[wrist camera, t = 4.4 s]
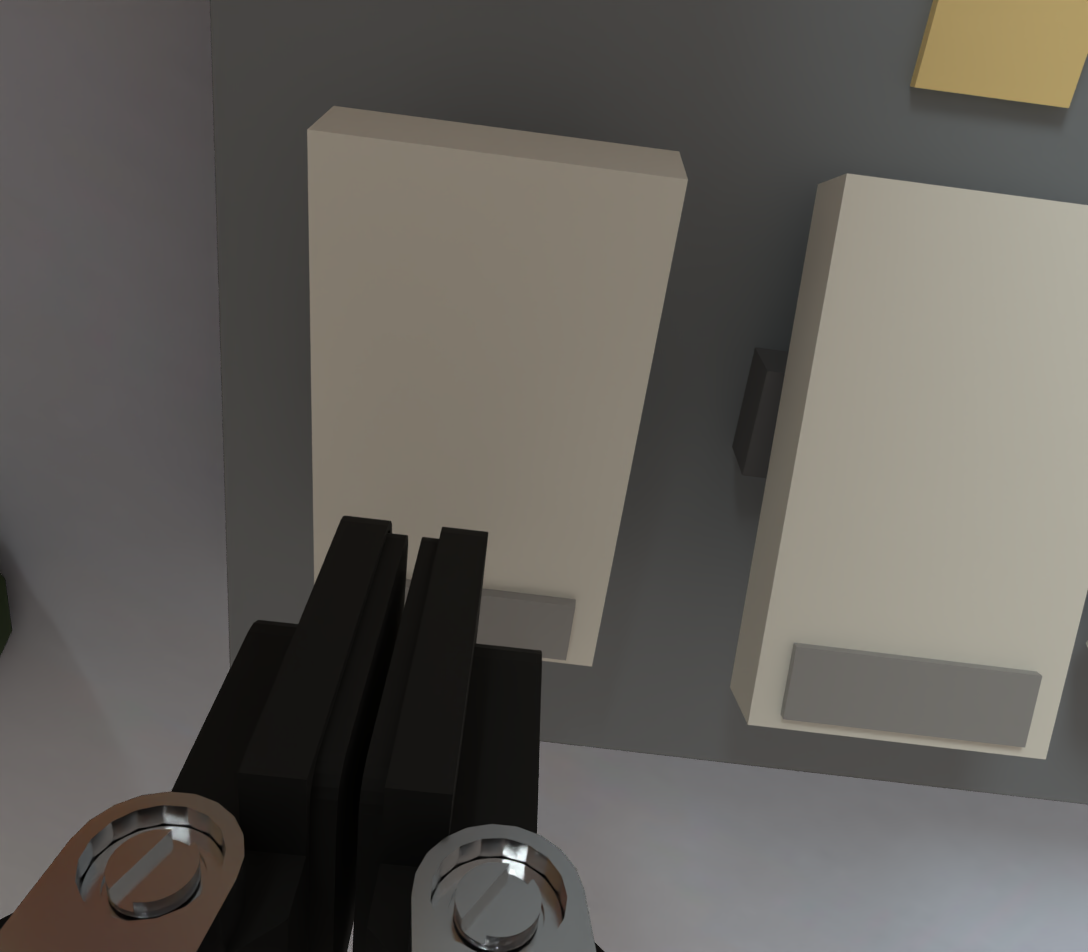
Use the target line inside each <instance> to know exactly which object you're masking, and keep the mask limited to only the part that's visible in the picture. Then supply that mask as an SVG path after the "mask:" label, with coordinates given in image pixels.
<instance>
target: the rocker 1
mask: <svg viewBox="0 0 1088 952" xmlns="http://www.w3.org/2000/svg"><path fill="white" fill-rule="evenodd" d="M307 151H308V215H309V280H310V344H311V408H312V473H313V537H314V584H315V582H316V579H317V577H318V574H319V572H320V569H321V567H322V564H323V562H324V560H325V557H326V555H327V552H328V550H329V547H330V545H331V542H332V540H333V537H334V535H335V533H336V530H337V528H338V525H339V523H340V520H341V519H342V517H343V516H354V517H362V518H371V519H380V520H389V521H391V523H392V533H393V534H402V535H408V557H407V572H406V587H405V603H406V599H407V595H408V591H409V587H410V583H411V579H412V575H413V571H414V567H415V563H416V559H417V555H418V551H419V547H420V543H421V539H422V537H429V538H438V539H439V538H440V533H441V529H442V527H451V528H459V529H468V530H477V531H486V532H488V542H487V551H486V560H485V569H484V578H483V587H482V596H481V605H480V615H479V624H478V633H477V642H476V643H477V644H486V645H496V646H505V647H514V648H523V649H533V650H541V651H542V661H549V662H557V663H566V664H574V665H583V666H591V667H592V664H593V659H594V654H595V649H596V643H597V638H598V633H599V628H600V623H601V618H602V613H603V608H604V603H605V598H606V593H607V588H608V583H609V578H610V573H611V567H612V562H613V557H614V552H615V547H616V542H617V537H618V532H619V527H620V522H621V517H622V512H623V507H624V502H625V496H626V491H627V486H628V481H629V476H630V471H631V466H632V461H633V456H634V451H635V446H636V441H637V436H638V431H639V425H640V420H641V415H642V410H643V405H644V400H645V395H646V390H647V385H648V380H649V375H650V370H651V365H652V360H653V355H654V349H655V344H656V339H657V334H658V329H659V324H660V319H661V314H662V309H663V304H664V299H665V294H666V289H667V284H668V278H669V273H670V268H671V263H672V258H673V253H674V248H675V243H676V238H677V233H678V228H679V223H680V218H681V213H682V208H683V202H684V197H685V192H686V187H687V182H688V178H687V175H686V172H685V168H684V165H683V162H682V159H681V156H680V152H679V151H672V150H664V149H657V148H649V147H641V146H634V145H626V144H619V143H611V142H604V141H596V140H589V139H581V138H574V137H566V136H558V135H551V134H543V133H536V132H528V131H521V130H513V129H506V128H498V127H490V126H483V125H475V124H468V123H460V122H453V121H445V120H438V119H430V118H423V117H415V116H407V115H400V114H392V113H385V112H377V111H370V110H362V109H355V108H347V107H339V106H333V107H332V108H331V109H330V110H328V111H327V112H326V113H325V114H324V115H323V116H322V117H321V118H319V119H318V120H317V121H316V122H315V123H314V124H313V125H312V126H311V127H309V128H308V129H307ZM405 603H404V606H405Z"/></svg>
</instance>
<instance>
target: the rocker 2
mask: <svg viewBox="0 0 1088 952" xmlns="http://www.w3.org/2000/svg"><path fill="white" fill-rule="evenodd" d="M1087 590H1088V205H1082V204H1075V203H1067V202H1060V201H1052V200H1044V199H1037V198H1029V197H1022V196H1014V195H1007V194H999V193H992V192H984V191H976V190H969V189H961V188H954V187H946V186H939V185H931V184H924V183H916V182H909V181H901V180H893V179H886V178H878V177H871V176H863V175H856V174H848V173H847V174H844V175H841V176H838V177H836V178H833V179H830V180H828V181H825V182H822V183H820V184H818V186H817V192H816V198H815V203H814V209H813V215H812V221H811V226H810V232H809V238H808V243H807V249H806V255H805V261H804V266H803V272H802V278H801V284H800V289H799V295H798V301H797V306H796V312H795V318H794V324H793V329H792V335H791V341H790V347H789V352H788V358H787V364H786V370H785V375H784V381H783V387H782V392H781V398H780V404H779V410H778V415H777V421H776V427H775V433H774V438H773V444H772V450H771V455H770V461H769V467H768V473H767V478H766V484H765V490H764V496H763V501H762V507H761V513H760V518H759V524H758V530H757V536H756V541H755V547H754V553H753V559H752V564H751V570H750V576H749V581H748V587H747V593H746V599H745V604H744V610H743V616H742V622H741V627H740V633H739V639H738V644H737V650H736V656H735V662H734V667H733V673H732V679H731V685H730V688H731V690H732V692H733V694H734V697H735V699H736V701H737V703H738V705H739V707H740V709H741V711H742V714H743V716H744V718H745V720H746V722H747V724H748V725H754V726H763V727H771V728H780V729H789V730H797V731H806V732H814V733H823V734H831V735H840V736H849V737H857V738H866V739H874V740H883V741H891V742H900V743H908V744H917V745H926V746H934V747H943V748H951V749H960V750H968V751H977V752H986V753H994V754H1003V755H1011V756H1020V757H1028V758H1037V759H1046V756H1047V752H1048V748H1049V744H1050V740H1051V736H1052V732H1053V728H1054V724H1055V720H1056V716H1057V712H1058V708H1059V704H1060V700H1061V696H1062V692H1063V688H1064V684H1065V679H1066V675H1067V671H1068V667H1069V663H1070V659H1071V655H1072V651H1073V647H1074V643H1075V639H1076V635H1077V631H1078V627H1079V623H1080V619H1081V615H1082V611H1083V607H1084V603H1085V599H1086V595H1087Z"/></svg>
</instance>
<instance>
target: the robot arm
mask: <svg viewBox="0 0 1088 952" xmlns="http://www.w3.org/2000/svg"><path fill="white" fill-rule="evenodd" d="M487 542H488V532H486V531H477V530H468V529H459V528H451V527H442V529H441V533H440V538H439V539H438V538H429V537H422V539H421V543H420V547H419V551H418V555H417V559H416V563H415V567H414V571H413V575H412V579H411V583H410V587H409V591H408V595H407V599H406V603H405V587H406V572H407V557H408V535H402V534H393V533H392V523H391V521H389V520H380V519H371V518H362V517H354V516H343V517H342V519H341V520H340V523H339V525H338V528H337V530H336V533H335V535H334V537H333V540H332V542H331V545H330V547H329V550H328V552H327V555H326V557H325V560H324V562H323V564H322V567H321V569H320V572H319V574H318V577H317V579H316V582H315V584H314V587H313V589H312V591H311V594H310V596H309V599H308V601H307V604H306V606H305V609H304V611H303V613H302V616H301V618H300V621H299V623H298V624H293V623H284V622H275V621H266V620H257V621H255V622H254V623H253V624H252V626H251V628H250V629H249V631H248V633H247V635H246V637H245V639H244V641H243V643H242V645H241V647H240V649H239V651H238V654H237V656H236V658H235V660H234V662H233V664H232V666H231V668H230V670H229V672H228V674H227V676H226V679H225V681H224V683H223V685H222V687H221V689H220V691H219V693H218V695H217V697H216V699H215V701H214V704H213V706H212V708H211V710H210V712H209V714H208V716H207V718H206V720H205V722H204V724H203V726H202V729H201V731H200V733H199V735H198V737H197V739H196V741H195V743H194V745H193V747H192V749H191V751H190V754H189V756H188V758H187V760H186V762H185V764H184V766H183V768H182V770H181V772H180V774H179V776H178V779H177V781H176V783H175V785H174V787H173V789H172V791H171V792H163V793H155V794H148V795H141V796H139V797H136V798H133V799H130V800H127V801H124V802H122V803H119V804H116V805H114V806H112V807H110V808H109V809H107V810H106V811H104V812H102V813H101V814H99V815H97V816H96V817H94V818H93V819H91V820H89V821H88V822H87V823H86V824H85V825H84V826H83V827H82V828H81V829H80V830H79V831H78V832H77V833H76V834H75V835H74V836H73V837H72V838H71V839H70V840H69V842H68V843H67V844H66V846H65V847H64V848H63V849H62V851H61V852H60V853H59V855H58V856H57V857H56V859H55V860H54V861H53V862H52V864H51V865H50V866H49V868H48V869H47V870H46V871H45V873H44V874H43V875H42V877H41V878H40V879H39V880H38V882H37V883H36V884H35V886H34V887H33V888H32V890H31V891H30V892H29V893H28V895H27V896H26V897H25V899H24V900H23V901H22V902H21V904H20V905H19V906H18V908H17V909H16V910H15V911H14V913H12V914H10V915H8V916H6V917H4V918H2V919H0V952H347V949H348V945H349V940H350V936H351V931H352V926H353V922H354V931H353V952H604V951H603V950H602V949H601V948H600V947H599V946H598V945H597V944H596V943H595V942H594V937H593V932H592V927H591V922H590V917H589V912H588V906H587V901H586V896H585V891H584V888H583V886H582V883H581V880H580V878H579V875H578V872H577V870H576V868H575V867H574V865H573V864H572V863H571V862H570V860H569V859H568V858H567V857H566V855H565V854H564V853H563V852H562V850H561V849H559V848H558V847H556V846H555V845H554V844H552V843H551V842H549V841H548V840H547V839H545V838H544V837H542V836H541V835H538V834H537V811H538V778H539V745H540V713H541V680H542V651H541V650H533V649H523V648H514V647H505V646H496V645H486V644H477V643H476V642H477V633H478V624H479V615H480V605H481V596H482V587H483V578H484V569H485V560H486V551H487ZM404 603H405V606H404Z"/></svg>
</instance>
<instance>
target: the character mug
mask: <svg viewBox="0 0 1088 952" xmlns="http://www.w3.org/2000/svg"><path fill="white" fill-rule="evenodd" d="M11 632H12V626H11V619H10V612H9V604H8V597H7V590H6V583H5V579H4V578H3V576H2V575H1V574H0V656H1V653H2V651H3V649H4V647H5V645H6V643H7V640H8V638H9V636H10V634H11Z"/></svg>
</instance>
